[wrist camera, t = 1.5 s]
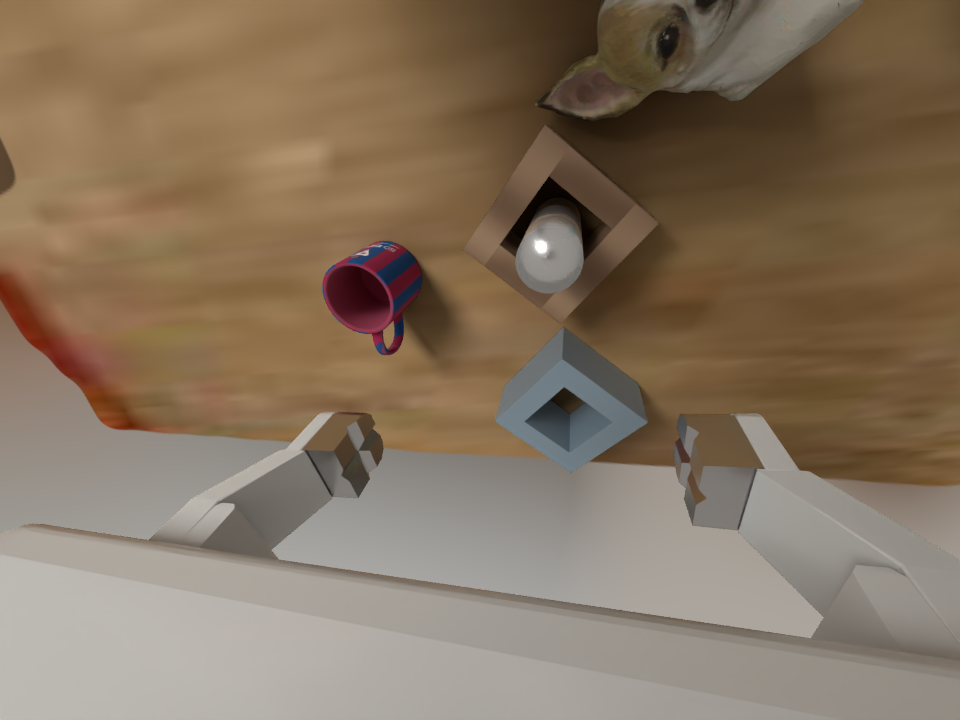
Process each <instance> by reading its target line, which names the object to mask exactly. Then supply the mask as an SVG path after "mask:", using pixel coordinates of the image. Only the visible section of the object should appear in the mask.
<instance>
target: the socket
mask: <svg viewBox="0 0 960 720" xmlns="http://www.w3.org/2000/svg"><path fill="white" fill-rule="evenodd" d="M564 387H565V388H566V389H568V390H569V391H571V392H572V393H573V394H575V395H576V396H577V397H579V398H580V399H582V400H583V401H584V402H585V403H583V404H582V405H581V406H580V407H578V408H577V409H576V410H575V411H573V412H572V413H571V414H569V413H568V412H566V411H565V410H564V409H562V408H561V407H559V406H558V405H557V404H555V403H554V402H552V401H551V400H550V399H551V398H552V397H553V396H554V395H556V394H557V393H558V392H559V391H560V390H561V389H563V388H564ZM495 422H497V423H498V424H500V425H501V426H503V427H504V428H505V429H507V430H508V431H510V432H511V433H513V434H514V435H516V436H517V437H519V438H520V439H522V440H523V441H525V442H526V443H527V444H529V445H530V446H532V447H533V448H535V449H536V450H538V451H539V452H541V453H542V454H544V455H545V456H547V457H548V458H549V459H551V460H552V461H554V462H555V463H557V464H558V465H560V466H561V467H563V468H564V469H566V470H567V471H569V472H570V473H572V472H574V471H575V470H577V469H578V468H580V467H581V466H583V465H584V464H586V463H587V462H589V461H590V460H592V459H593V458H595V457H596V456H598V455H599V454H601V453H603V452H604V451H606V450H607V449H609V448H610V447H612V446H613V445H615V444H616V443H618V442H619V441H621V440H622V439H624V438H625V437H627V436H628V435H630V434H631V433H633V432H635V431H636V430H638V429H639V428H641V427H642V426H644V425H645V424H647V423H648V420H647V416H646V412H645V408H644V405H643V401H642V397H641V393H640V389H639V385H638V383H637V382H635V381H634V380H633V379H631V378H630V377H629V376H627V375H626V374H625V373H623V372H622V371H621V370H620V369H618V368H617V367H616V366H614V365H613V364H612V363H610V362H609V361H608V360H606V359H605V358H604V357H602V356H601V355H600V354H598V353H597V352H596V351H595V350H593V349H592V348H591V347H589V346H588V345H587V344H585V343H584V342H583V341H581V340H580V339H579V338H577V337H576V336H575V335H574V334H572V333H571V332H570V331H568V330H567V329H566V328H564V327H563V328H562V329H561V330H560V331H559V332H558V333H557V334H556V335H555V336H554V337H553V338H552V339H551V340H550V341H549V342H548V343H547V344H546V345H545V346H544V347H543V348H542V349H541V350H540V351H539V352H538V353H537V354H536V355H535V356H534V357H533V358H532V359H531V360H530V361H529V362H528V363H527V364H526V365H525V366H524V367H523V368H522V369H521V370H520V371H519V372H518V373H517V374H516V375H515V376H514V377H513V378H512V379H511V380H510V381H509V382H508V383H507V384H506V385H505V387H504V390H503V394H502V397H501V401H500V405H499V408H498V412H497V416H496V419H495Z"/></svg>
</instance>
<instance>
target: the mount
mask: <svg viewBox="0 0 960 720" xmlns="http://www.w3.org/2000/svg"><path fill="white" fill-rule="evenodd" d="M548 177H551V178H552V179H553V180H554V181H555V182H557V183H558V184H559V185H560V186H561V187H563V188H564V189H565V190H566V191H567V192H569V193H570V194H571V195H572V196H573V197H575V198H576V199H577V200H578V201H579V202H580V203H582V204H583V205H584V206H585V207H586V208H588V209H589V210H590V211H591V212H592V213H594V214H595V215H596V216H597V217H598V218H600V219H601V220H602V222H601V224H600V225H599V226H598V227H597V228H596V229H595V230H594V232H593V233H592V234H591V235H590V236H589V237H588V238H587V240H586V241H585V242H584V243H583V257H584V261H583V267H582V270H581V273H580V275H579V277H578V278H577V279H576V281H575V282H574V283H573V284H572V285H571V286H569V287H568V288H566V289H564V290H562V291H560V292H556V293H541V292H537V291H535V290H533V289H531V288H529V287H528V286H527V285H526V284H525V283H524V282H523V281H522V280H521V278H520V277H519V275H518V272H517V269H516V254H517V251H518V248H519V246H520V244H521V242H522V240H521V239H520V238H518V237H517V236H516V235H515V234H513V233H512V232H511V231H510V230H511V228H512V227H513V225H514V224H515V223H516V221H517V220H518V218H519V217H520V216H521V214H522V213H523V211H524V210H525V209H526V207H527V206H528V204H529V203H530V202H531V200H532V199H533V197H534V196H535V195H536V193H537V192H538V191H539V189H540V188H541V186H542V185H543V184H544V182H545V181H546V179H547V178H548ZM658 224H659V223H658V222H657V221H656V219H655V218H654V217H653V216H652V215H651V214H650V213H649V212H648V211H647V210H646V209H645V208H644V207H643V206H641V205H640V204H639V203H638V202H637V201H636V200H634V199H633V198H632V197H631V196H630V195H629V194H628V193H626V192H625V191H624V190H623V189H622V188H621V187H619V186H618V185H617V184H616V183H615V182H614V181H612V180H611V179H610V178H609V177H608V176H607V175H606V174H604V173H603V172H602V171H601V170H600V169H599V168H597V167H596V166H595V165H594V164H593V163H592V162H591V161H589V160H588V159H587V158H586V157H585V156H584V155H582V154H581V153H580V152H579V151H578V150H577V149H576V148H574V147H573V146H572V145H571V144H570V143H569V142H567V141H566V140H565V139H564V138H563V137H562V136H561V135H559V134H558V133H557V132H556V131H555V130H554V129H552V128H551V127H550V126H548V125H544V127H543V128H542V130H541V131H540V133H539V134H538V136H537V138H536V139H535V141H534V142H533V144H532V145H531V147H530V148H529V150H528V151H527V153H526V154H525V156H524V157H523V159H522V160H521V162H520V164H519V165H518V167H517V168H516V170H515V171H514V173H513V174H512V176H511V177H510V179H509V180H508V182H507V183H506V185H505V186H504V188H503V189H502V191H501V193H500V194H499V196H498V197H497V199H496V200H495V202H494V203H493V205H492V206H491V208H490V209H489V211H488V212H487V214H486V215H485V217H484V219H483V220H482V222H481V223H480V225H479V226H478V228H477V229H476V231H475V232H474V234H473V235H472V237H471V238H470V240H469V241H468V243H467V244H466V246H465V248H464V249H463V250H464V251H465V252H467V253H468V254H469V255H470V256H472V257H473V258H474V259H476V260H477V261H478V262H480V263H481V264H482V265H484V266H485V267H486V268H488V269H489V270H490V271H491V272H493V273H494V274H495V275H497V276H498V277H499V278H501V279H502V280H503V281H505V282H506V283H507V284H509V285H510V286H511V287H513V288H514V289H515V290H516V291H518V292H519V293H520V294H522V295H523V296H524V297H526V298H527V299H528V300H530V301H531V302H532V303H534V304H535V305H536V306H538V307H539V308H540V309H541V310H543V311H544V312H545V313H547V314H548V315H549V316H551V317H552V318H553V319H555V320H556V321H557V322H559V323H561V322H562V321H563V320H564V319H565V318H566V317H567V316H568V315H569V314H570V313H571V312H572V311H573V310H574V309H575V308H576V307H577V306H578V305H579V304H580V303H581V302H582V301H583V300H584V299H585V298H586V297H587V296H588V295H589V294H590V293H591V292H592V291H593V290H594V289H595V288H596V287H597V286H598V285H599V284H600V283H601V282H602V281H603V280H604V279H605V278H606V277H607V276H608V275H609V274H610V273H611V272H612V271H613V270H614V269H615V268H616V267H617V266H618V265H619V264H620V262H621V261H622V260H623V259H624V258H625V257H626V256H627V255H628V254H629V253H630V252H631V251H632V250H633V249H634V248H635V247H636V246H637V245H638V244H639V243H640V242H641V241H642V240H643V239H644V238H645V237H646V236H647V235H648V234H649V233H650V232H651V231H652V230H653V229H654V228H655V227H656V226H657V225H658Z"/></svg>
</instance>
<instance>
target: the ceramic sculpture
mask: <svg viewBox="0 0 960 720" xmlns="http://www.w3.org/2000/svg"><path fill="white" fill-rule="evenodd" d="M864 1H865V0H601V5H600V10H599V15H598V22H597V42H598V52H597V54H596V55H589V56H587V57H585V58H583V59H580V60H578V61H576V62H575V63H573V64H572V65H571V66H570V67H569V68H568V69H567V70H566V71H565V73H564V74H563V75H562V76H561V77H560V78H559V80H558V81H557V82H556V83H555V84H554V86H553V87H552V88H551V89H550V90H549V91H548V92H546V93H545V94H544V95H542V96H541V97H540V98H539V99H538V100H536V103H535V105H536V106H537V107H541V108H544V109H548V110H552V111H555V112H556V113H558V114H561V115H565V116H569V117H574V118H577V119H585V120H589V121H595V120H598V119H604V118H617V117H619V116H620V115H622V114H624V113H626V112H628V111H629V110H631V109H633V108H635V107H636V106H637V105H638V104H639V103H640V102H641V101H642V100H643V99H644V98H646V97H647V96H648V95H649V94H650V93H652V92H654V91H658V90H666V91H670V92H683V93H689V92H691V91H702V90H705V91H715V92H716V93H718V94H719V95H720V96H722V97H725V98H726V99H728V100H729V101H738V100H741V99H744V98H745V97H746V96H747V95H748V94H750V93H751V92H752V91H753V90H754V89H755V88H757V87H758V86H759V85H761V84H762V83H763V82H765V81H766V80H767V79H769V78H770V77H771V76H773V75H774V74H775V73H776V72H778V71H779V70H780V69H781V68H783V67H784V66H785V65H787V64H788V63H789V62H790V61H792V60H793V59H794V58H796V57H797V56H798V55H800V54H801V53H802V52H804V51H805V50H807V49H808V48H810V47H811V46H813V45H814V44H816V43H817V42H819V41H820V40H821V39H822V38H824V37H825V36H826V35H827V34H828V33H829V32H830V31H832V30H833V29H834V28H835V27H836V26H837V25H838V24H839V23H841V22H842V21H843V20H844V19H846V18H847V17H848V16H850V15H851V14H853V13H854V12H855V11H856V10H857V9H858V8H859V7H860V6H861V5H862V4H863V3H864Z"/></svg>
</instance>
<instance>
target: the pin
mask: <svg viewBox="0 0 960 720" xmlns="http://www.w3.org/2000/svg"><path fill="white" fill-rule="evenodd" d="M583 261H584V257H583V243H582V230H581V218H580V213H579V211H578V209H577V207H576V206H575V205H574V204H573V203H572V202H571V201H569V200H567V199H564V198H553V199H550V200H547V201H546V202H544V203H543V204H542V205H541V206H540V207H539V208H538V209H537V211H536V213H535V215H534V217H533V219H532V221H531V223H530V225H529V227H528V229H527V231H526V233H525V236H524V238H523V240H522V242H521V244H520V246H519V248H518V251H517V254H516V269H517V272H518V275H519V277H520V278H521V280H522V281H523V282H524V283H525V284H526V285H527V286H528V287H529V288H531V289H533V290H535V291H537V292H541V293H556V292H560V291H562V290H564V289H566V288H568V287H569V286H571V285H572V284H573V283H574V282H575V281H576V279H577V278H578V277H579V275H580V273H581V270H582V267H583Z"/></svg>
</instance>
